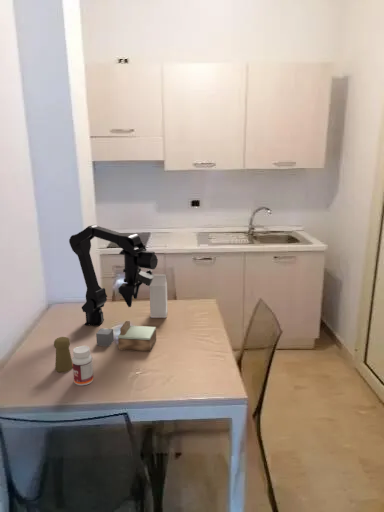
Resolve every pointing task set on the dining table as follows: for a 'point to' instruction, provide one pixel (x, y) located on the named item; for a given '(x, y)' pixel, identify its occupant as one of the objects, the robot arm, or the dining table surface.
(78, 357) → the pill bottle
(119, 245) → the robot arm
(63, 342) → the pepper shaker
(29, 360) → the dining table surface
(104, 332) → the cube
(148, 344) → the box
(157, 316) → the milk carton
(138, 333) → the lid
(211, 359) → the dining table surface
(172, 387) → the dining table surface
